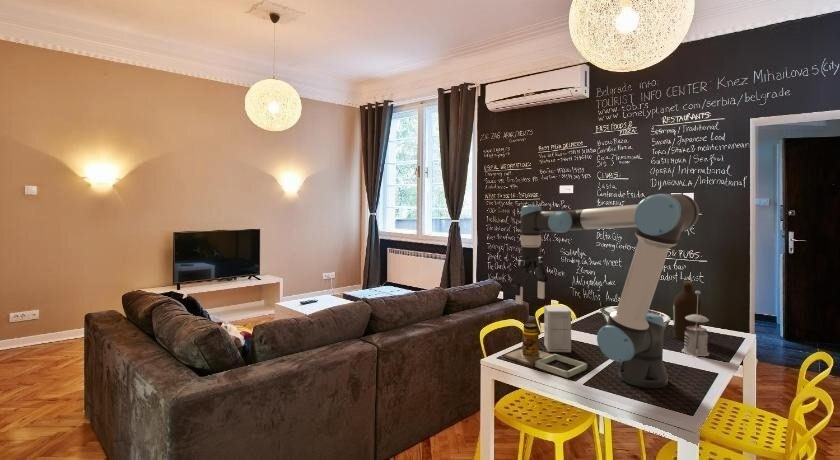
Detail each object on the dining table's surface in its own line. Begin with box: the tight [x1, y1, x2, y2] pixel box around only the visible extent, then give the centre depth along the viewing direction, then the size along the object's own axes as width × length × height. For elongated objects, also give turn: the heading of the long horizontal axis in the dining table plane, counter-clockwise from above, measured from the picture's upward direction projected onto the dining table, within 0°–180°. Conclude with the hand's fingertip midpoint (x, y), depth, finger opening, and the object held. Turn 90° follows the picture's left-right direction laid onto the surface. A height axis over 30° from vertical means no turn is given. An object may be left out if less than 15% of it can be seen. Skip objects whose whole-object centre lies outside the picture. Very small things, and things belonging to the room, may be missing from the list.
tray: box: [534, 353, 588, 379], centre depth 168 cm, size 14×13×2 cm
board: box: [504, 348, 553, 367], centre depth 178 cm, size 13×14×1 cm
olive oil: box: [672, 280, 703, 342], centre depth 199 cm, size 11×11×25 cm
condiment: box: [518, 323, 542, 358], centre depth 178 cm, size 7×8×12 cm
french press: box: [681, 290, 710, 357], centre depth 180 cm, size 10×12×25 cm
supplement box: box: [543, 305, 572, 353], centre depth 188 cm, size 10×9×17 cm
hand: (530, 301), depth 177 cm, fingers open, 13 cm apart
